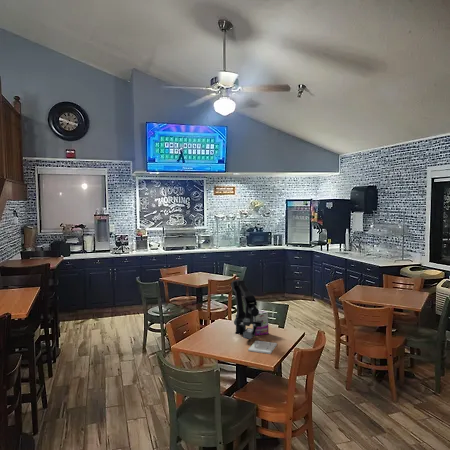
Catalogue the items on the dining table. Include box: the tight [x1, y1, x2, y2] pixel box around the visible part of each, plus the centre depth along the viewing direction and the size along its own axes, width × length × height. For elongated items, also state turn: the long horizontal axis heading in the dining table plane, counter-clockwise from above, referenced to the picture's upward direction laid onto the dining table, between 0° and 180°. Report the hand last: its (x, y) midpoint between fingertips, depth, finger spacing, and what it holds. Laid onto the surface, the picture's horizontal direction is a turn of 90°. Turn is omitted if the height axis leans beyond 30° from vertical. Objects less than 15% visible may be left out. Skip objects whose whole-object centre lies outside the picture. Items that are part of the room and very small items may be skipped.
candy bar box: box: [252, 310, 269, 337], centre depth 286 cm, size 11×5×16 cm, turn 112°
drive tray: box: [247, 340, 278, 355], centre depth 259 cm, size 15×18×3 cm
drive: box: [242, 327, 255, 340], centre depth 274 cm, size 6×10×4 cm, turn 159°
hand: (249, 334), depth 274 cm, fingers closed on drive, 6 cm apart
